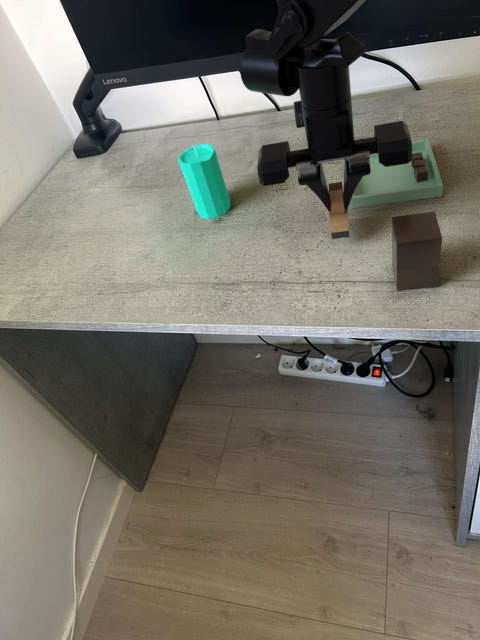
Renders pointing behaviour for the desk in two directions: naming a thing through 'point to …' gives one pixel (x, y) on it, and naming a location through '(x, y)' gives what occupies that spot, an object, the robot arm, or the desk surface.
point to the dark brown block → (416, 251)
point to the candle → (205, 180)
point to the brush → (338, 212)
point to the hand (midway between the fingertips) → (338, 208)
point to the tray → (398, 181)
